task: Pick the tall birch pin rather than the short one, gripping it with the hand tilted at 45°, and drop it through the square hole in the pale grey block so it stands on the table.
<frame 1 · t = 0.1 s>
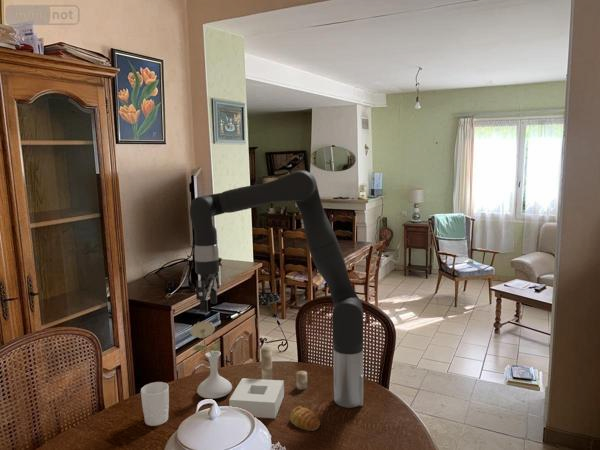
hand: (209, 307, 147), 29 cm above the table, tool pointing down, fingers open, 8 cm apart
short birch pin: (302, 387, 153), on the table
pastry: (304, 423, 132), on the table
white cup: (156, 420, 135), on the table
guide block: (258, 404, 143), on the table
flower in vase: (212, 394, 150), on the table
tall birch pin: (267, 385, 155), on the table
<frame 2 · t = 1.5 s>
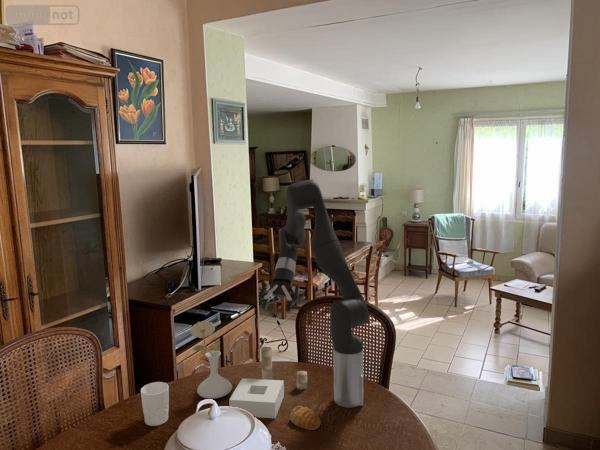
hand: (275, 311, 163), 23 cm above the table, tool tilted 45°, fingers open, 8 cm apart
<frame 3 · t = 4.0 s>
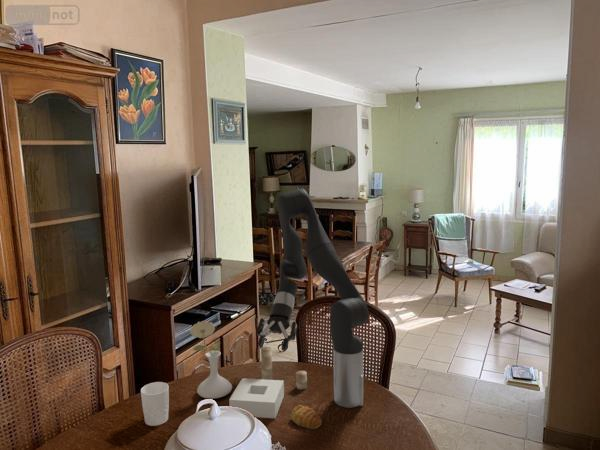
hand: (271, 348, 158), 11 cm above the table, tool tilted 45°, fingers open, 8 cm apart
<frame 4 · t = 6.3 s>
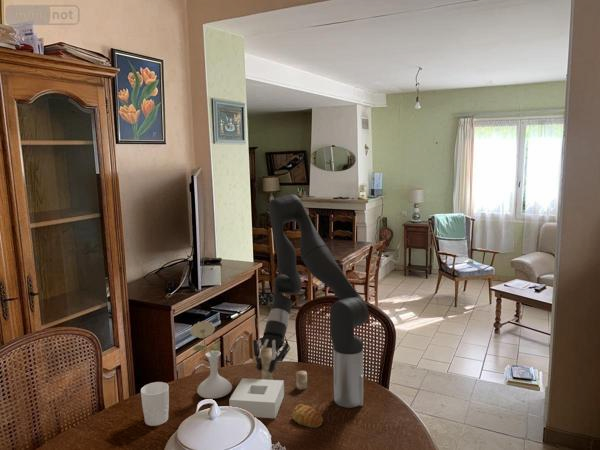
hand: (264, 370, 153), 6 cm above the table, tool tilted 45°, fingers closed on tall birch pin, 3 cm apart
tall birch pin: (267, 385, 155), on the table, touching gripper
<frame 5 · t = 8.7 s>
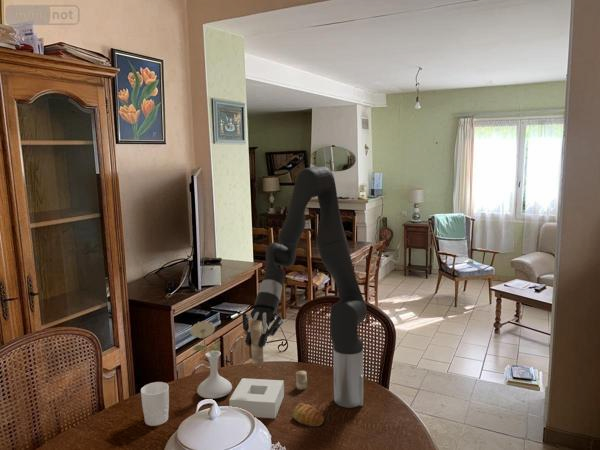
hand: (254, 345, 139), 20 cm above the table, tool tilted 45°, fingers closed on tall birch pin, 3 cm apart
tall birch pin: (257, 362, 142), point 14 cm above the table, touching gripper
when the fingers open (7 cm above the table, at t = 11.5 s): tall birch pin drops 1 cm, resting in guide block.
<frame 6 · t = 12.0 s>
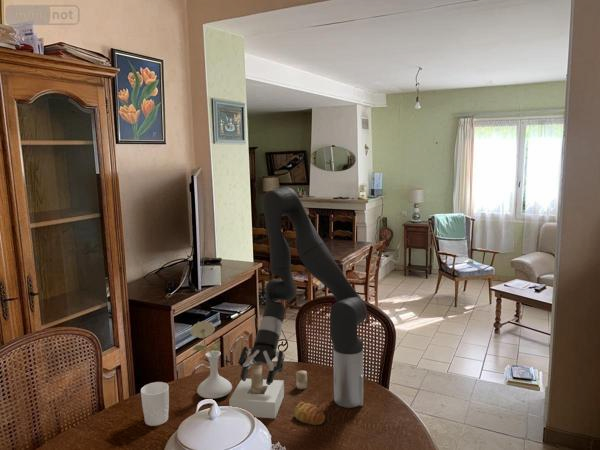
hand: (255, 382, 140), 8 cm above the table, tool tilted 45°, fingers open, 8 cm apart
tall birch pin: (257, 404, 143), resting in guide block
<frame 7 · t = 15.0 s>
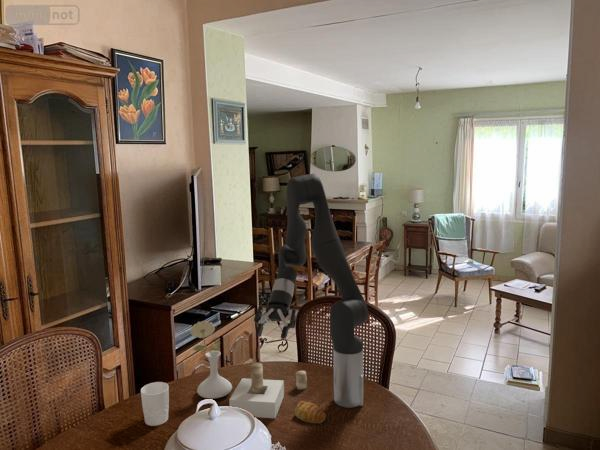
hand: (270, 337, 151), 18 cm above the table, tool tilted 45°, fingers open, 8 cm apart
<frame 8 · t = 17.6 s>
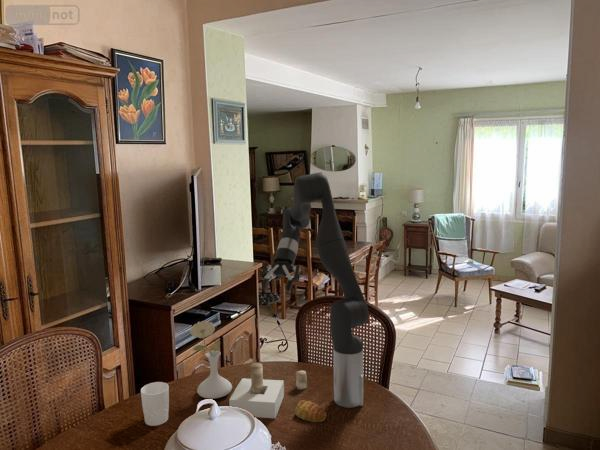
hand: (275, 290, 161), 31 cm above the table, tool tilted 45°, fingers open, 8 cm apart
at the end: tall birch pin 0.1 cm off-centre on the guide block, point 0.0 cm above the guide block's base; tall birch pin tilted 0°; short birch pin moved 0.1 cm from its start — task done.
